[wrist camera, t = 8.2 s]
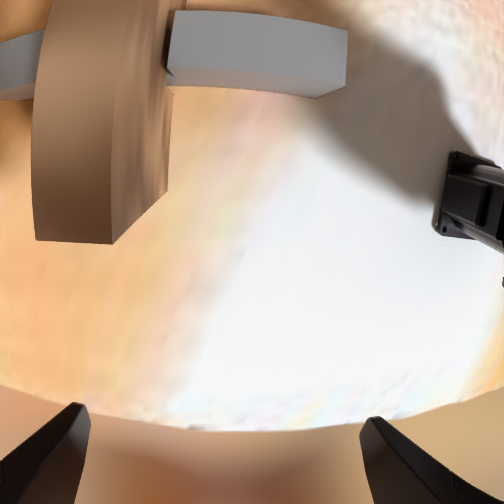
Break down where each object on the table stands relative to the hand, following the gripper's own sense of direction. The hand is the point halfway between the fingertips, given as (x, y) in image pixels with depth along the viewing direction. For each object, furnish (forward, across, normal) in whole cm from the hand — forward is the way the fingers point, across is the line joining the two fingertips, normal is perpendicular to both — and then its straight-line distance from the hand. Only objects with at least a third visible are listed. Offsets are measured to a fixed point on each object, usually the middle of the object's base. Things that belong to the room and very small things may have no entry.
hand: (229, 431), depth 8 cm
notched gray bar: (+13, +6, -12) cm, 19 cm away
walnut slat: (+13, +6, -12) cm, 19 cm away
